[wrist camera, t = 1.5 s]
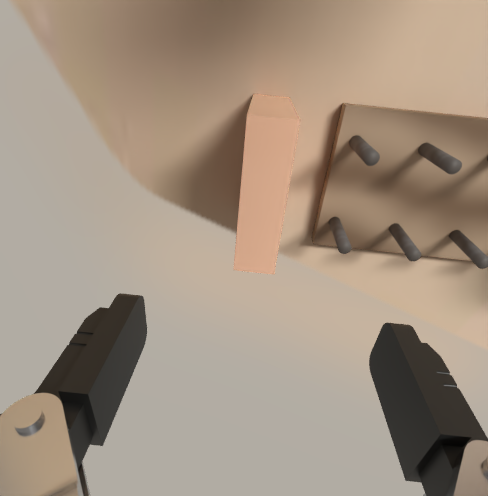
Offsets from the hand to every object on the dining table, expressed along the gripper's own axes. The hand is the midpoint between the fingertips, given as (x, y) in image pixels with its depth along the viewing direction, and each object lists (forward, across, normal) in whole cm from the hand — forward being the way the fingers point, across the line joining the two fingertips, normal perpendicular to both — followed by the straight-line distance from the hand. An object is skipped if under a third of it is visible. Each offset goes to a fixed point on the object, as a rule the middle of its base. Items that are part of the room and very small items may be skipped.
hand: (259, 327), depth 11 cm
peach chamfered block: (+20, 0, 0) cm, 20 cm away
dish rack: (+19, -15, +1) cm, 25 cm away
